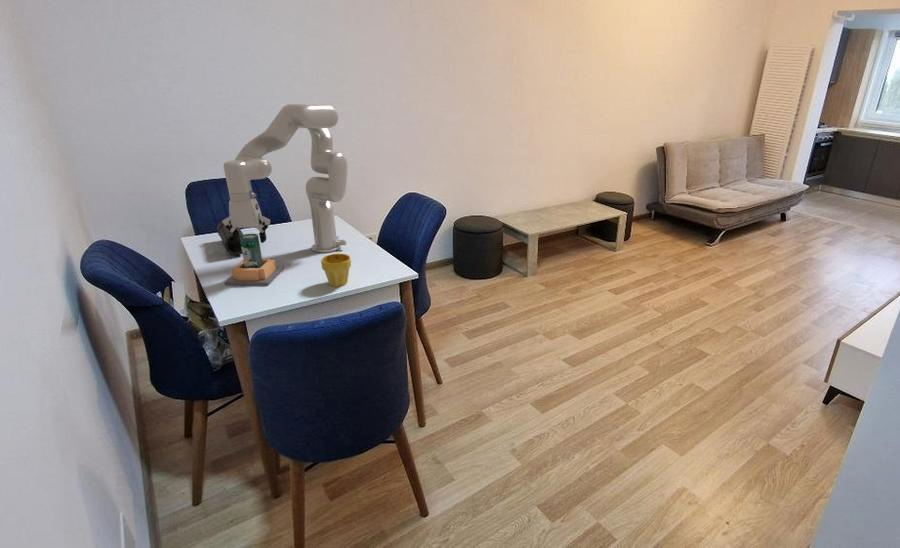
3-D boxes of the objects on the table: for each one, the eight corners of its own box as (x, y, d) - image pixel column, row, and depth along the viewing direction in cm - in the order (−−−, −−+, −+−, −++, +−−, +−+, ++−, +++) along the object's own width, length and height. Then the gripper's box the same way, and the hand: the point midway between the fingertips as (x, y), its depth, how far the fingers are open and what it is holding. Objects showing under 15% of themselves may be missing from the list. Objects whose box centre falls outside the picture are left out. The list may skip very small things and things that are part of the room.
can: (243, 274, 173) (236, 236, 167) (257, 269, 178) (251, 232, 172) (253, 278, 170) (246, 239, 164) (267, 272, 174) (261, 235, 169)
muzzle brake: (226, 259, 192) (221, 235, 188) (219, 241, 214) (214, 219, 210) (250, 255, 196) (246, 232, 192) (241, 237, 218) (237, 216, 214)
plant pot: (338, 291, 162) (335, 265, 158) (317, 284, 167) (314, 259, 163) (358, 281, 170) (356, 256, 166) (338, 275, 175) (335, 251, 171)
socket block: (284, 269, 181) (282, 256, 179) (268, 285, 166) (265, 272, 164) (244, 268, 182) (242, 256, 180) (224, 285, 167) (222, 272, 165)
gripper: (269, 193, 165) (277, 238, 172) (222, 193, 166) (232, 238, 173) (261, 198, 158) (269, 245, 165) (212, 199, 159) (222, 245, 166)
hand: (250, 241), depth 169 cm, fingers open, 9 cm apart
